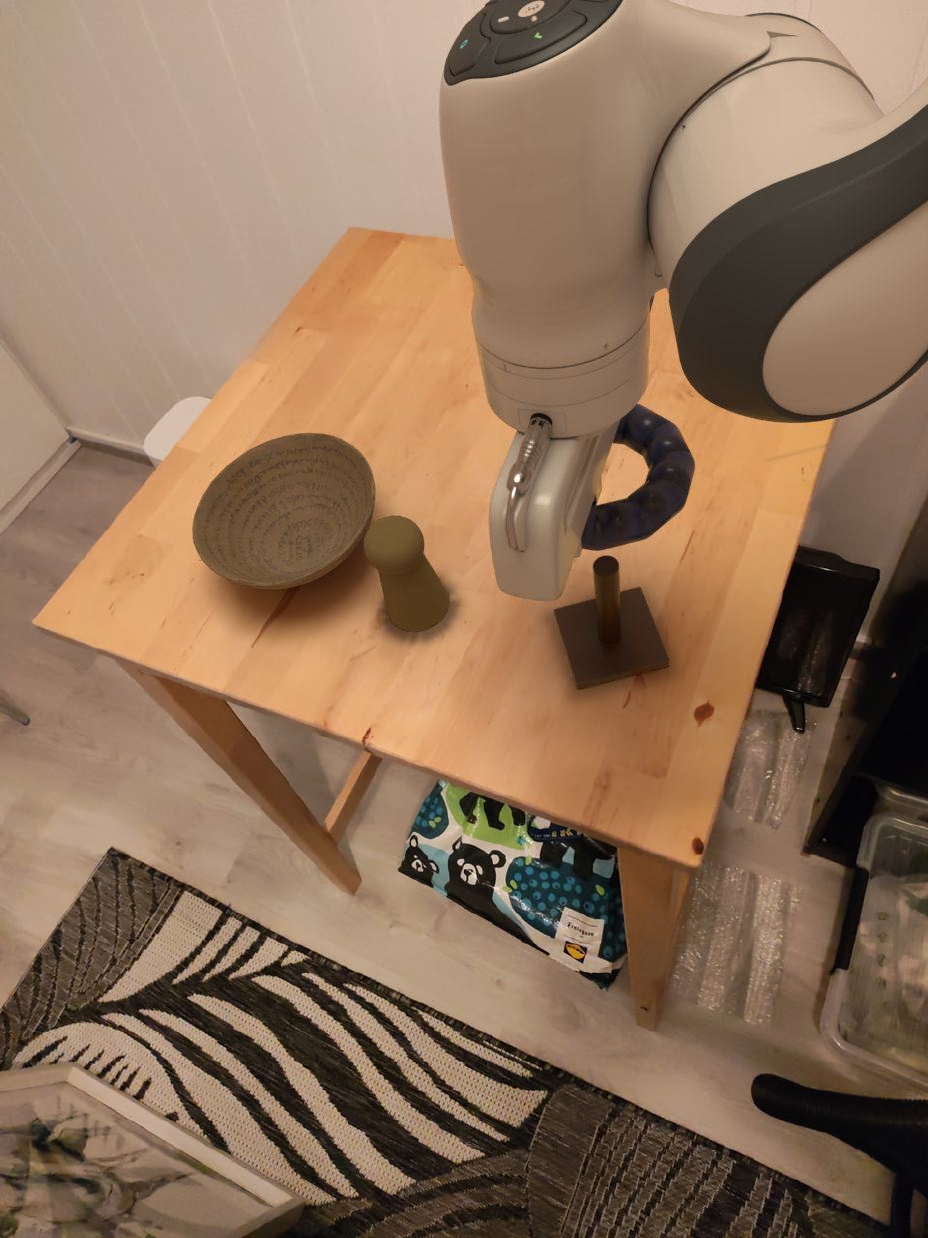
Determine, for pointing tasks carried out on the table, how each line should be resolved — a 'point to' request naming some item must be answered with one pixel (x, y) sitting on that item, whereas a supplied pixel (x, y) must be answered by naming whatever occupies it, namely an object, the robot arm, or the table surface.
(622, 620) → the post
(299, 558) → the bowl
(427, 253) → the table surface
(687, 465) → the ring
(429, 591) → the olive game pawn
